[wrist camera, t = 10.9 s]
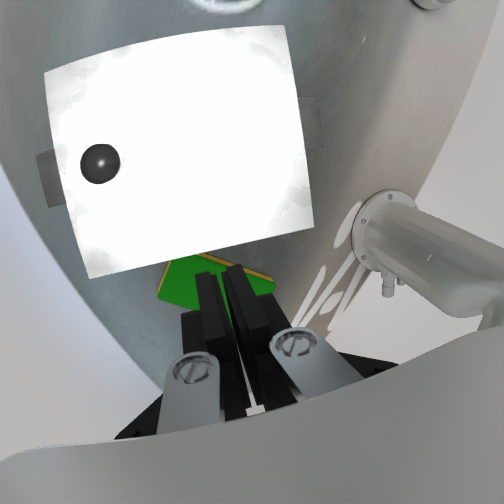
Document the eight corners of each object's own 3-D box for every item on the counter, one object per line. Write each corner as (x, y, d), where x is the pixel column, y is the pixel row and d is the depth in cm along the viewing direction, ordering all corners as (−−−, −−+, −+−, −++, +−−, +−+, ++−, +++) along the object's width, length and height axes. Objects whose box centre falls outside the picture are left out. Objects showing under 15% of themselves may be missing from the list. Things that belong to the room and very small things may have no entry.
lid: (309, 224, 29) (323, 233, 26) (91, 274, 26) (84, 288, 23) (280, 28, 23) (291, 17, 20) (48, 75, 20) (34, 68, 17)
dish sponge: (176, 241, 39) (176, 248, 37) (272, 276, 44) (277, 284, 42) (157, 289, 41) (156, 299, 39) (249, 318, 46) (253, 328, 44)
